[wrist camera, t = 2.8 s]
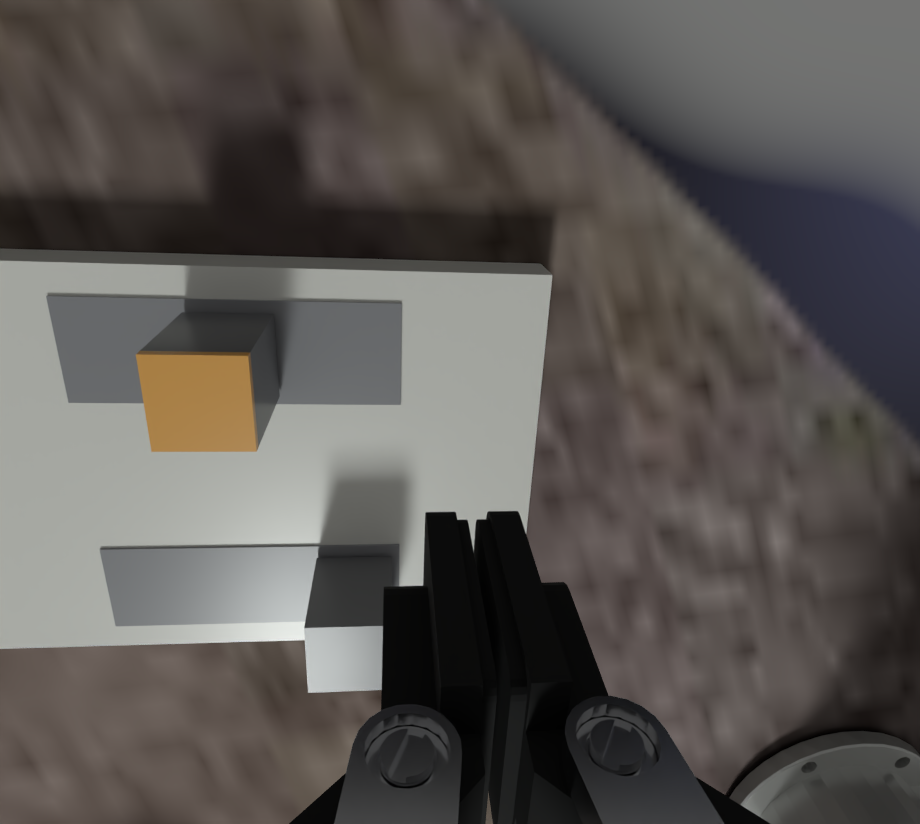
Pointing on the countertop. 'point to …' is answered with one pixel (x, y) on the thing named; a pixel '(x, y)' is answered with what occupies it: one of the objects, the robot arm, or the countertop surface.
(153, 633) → the board
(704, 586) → the countertop surface
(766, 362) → the countertop surface
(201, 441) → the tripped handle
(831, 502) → the countertop surface
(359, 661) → the on handle
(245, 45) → the countertop surface
